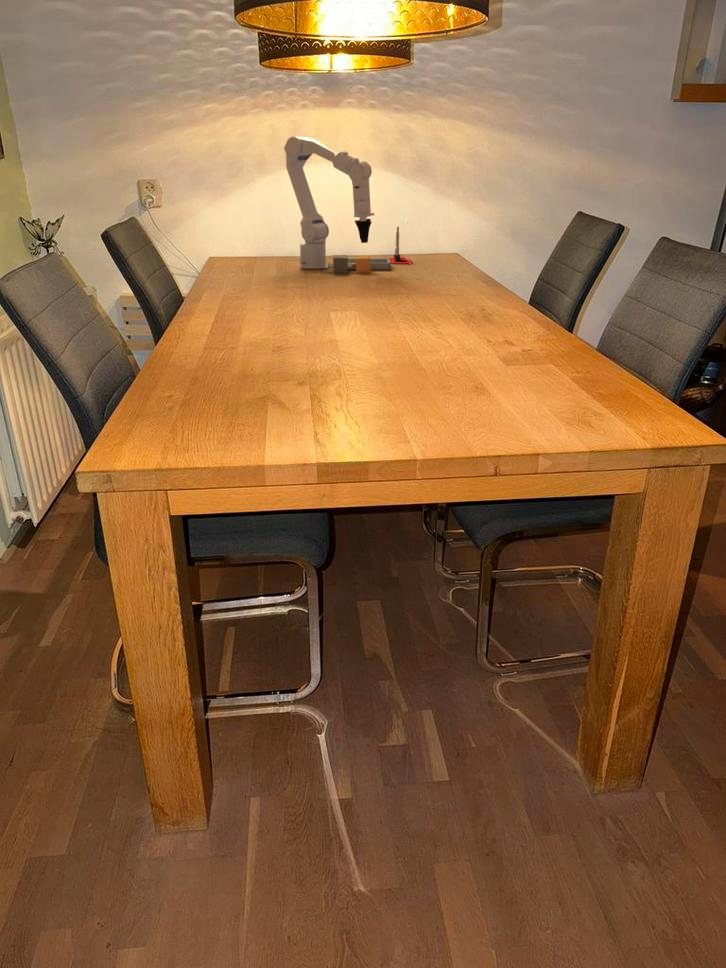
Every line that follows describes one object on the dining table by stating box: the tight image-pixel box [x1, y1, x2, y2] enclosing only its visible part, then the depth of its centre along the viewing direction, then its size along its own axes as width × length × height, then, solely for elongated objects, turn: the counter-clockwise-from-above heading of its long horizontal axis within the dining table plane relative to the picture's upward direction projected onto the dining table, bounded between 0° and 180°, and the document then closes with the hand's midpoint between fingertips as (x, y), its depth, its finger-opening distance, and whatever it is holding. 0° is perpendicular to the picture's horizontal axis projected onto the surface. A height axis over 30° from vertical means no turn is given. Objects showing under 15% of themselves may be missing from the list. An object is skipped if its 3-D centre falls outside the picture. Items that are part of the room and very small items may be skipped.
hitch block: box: [332, 254, 349, 275], centre depth 262 cm, size 5×7×5 cm
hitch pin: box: [327, 256, 371, 274], centre depth 262 cm, size 15×4×5 cm, turn 92°
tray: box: [348, 257, 392, 271], centre depth 271 cm, size 20×11×2 cm, turn 92°
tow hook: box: [389, 226, 413, 265], centre depth 280 cm, size 8×13×9 cm
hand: (364, 241), depth 259 cm, fingers open, 7 cm apart
